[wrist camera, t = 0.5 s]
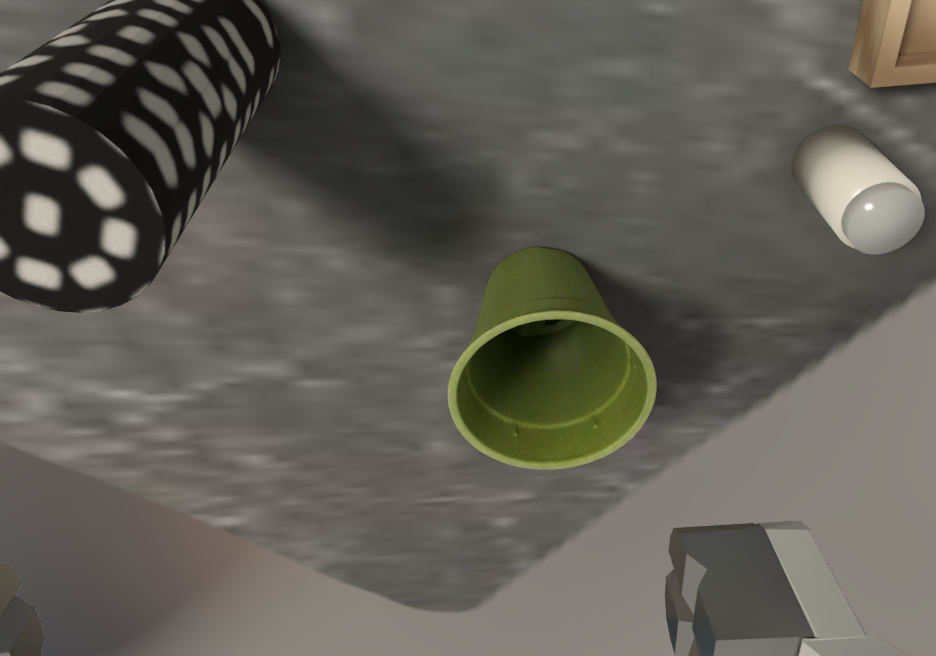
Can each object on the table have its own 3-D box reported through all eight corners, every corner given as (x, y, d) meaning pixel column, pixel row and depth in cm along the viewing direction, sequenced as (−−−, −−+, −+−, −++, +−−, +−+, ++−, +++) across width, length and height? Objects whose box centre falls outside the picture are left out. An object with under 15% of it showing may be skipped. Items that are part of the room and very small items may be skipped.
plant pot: (660, 263, 51) (701, 371, 42) (558, 378, 57) (574, 494, 48) (512, 179, 47) (523, 278, 38) (420, 311, 53) (410, 423, 44)
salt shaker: (798, 127, 45) (852, 188, 39) (874, 121, 45) (941, 182, 38) (786, 194, 48) (834, 261, 41) (857, 189, 47) (917, 256, 41)
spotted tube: (263, 134, 45) (150, 338, 29) (120, 84, 44) (-83, 272, 28) (295, -3, 41) (182, 150, 25) (137, -65, 39) (-96, 56, 23)
